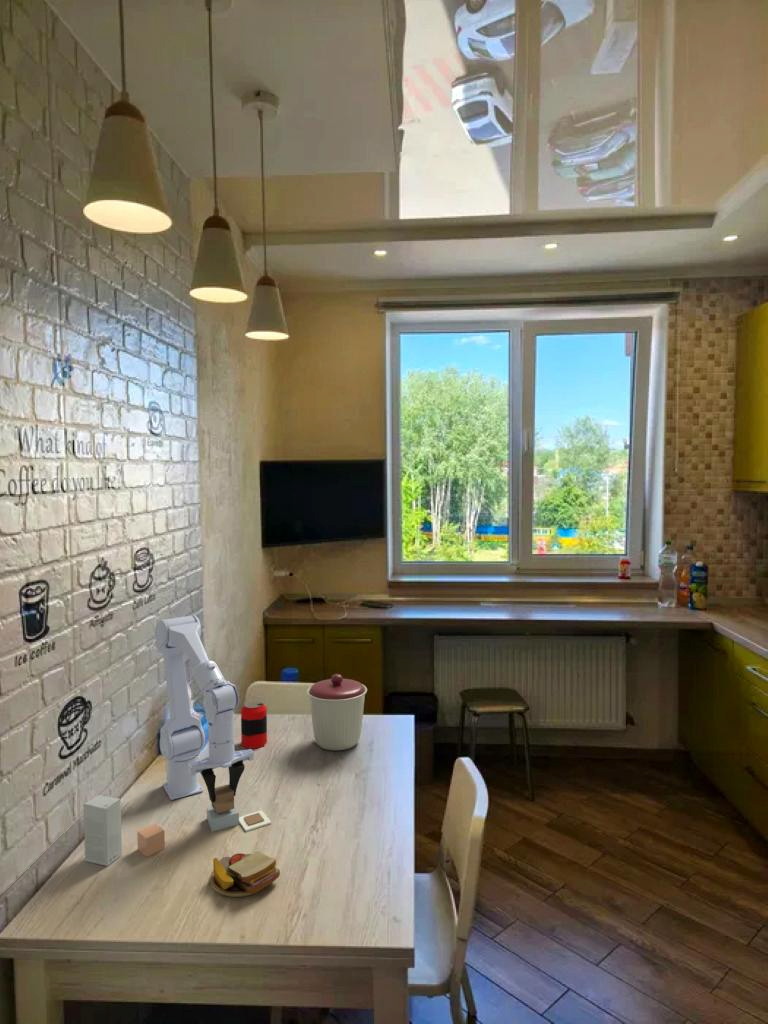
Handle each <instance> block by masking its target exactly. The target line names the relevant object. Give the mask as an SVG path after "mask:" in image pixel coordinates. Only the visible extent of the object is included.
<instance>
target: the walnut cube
mask: <svg viewBox="0 0 768 1024" xmlns="http://www.w3.org/2000/svg"><path fill="white" fill-rule="evenodd" d="M234 804H235V796H234V791H233V790H232V788H231V787H230V786H229V783H228V784H223V785H220V786H217V787H216V786H215V802H211V806H212V807H213V809H214V810H215V812H216V813H217V814H218V813H221V812H225V811H228V810H231V809H234Z"/></svg>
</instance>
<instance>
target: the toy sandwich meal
mask: <svg viewBox="0 0 768 1024" xmlns="http://www.w3.org/2000/svg"><path fill="white" fill-rule="evenodd" d="M276 865H277V860H276V858H275V857H271V856H268V855H266V854H265V853H263V852H261V851H255V852H253V853H234V854H233V855H231V857H230V856H225V857H222V858H221V859H218V858H217V857H214V858H213V870H212V871H211V874H210V877H209V882H210V885H211V887H212V888H213V890H215V891H216V892H218V893H219V894H220V895H223V896H226V897H229V898H230V897H231V898H238V897H239V898H240V897H247V896H251V895H253V894H255V893H256V894H257V893H258V892H260V891H261V890H263V889H264V888H266V887H267V886H268V887H269V885H271V884H272V883H273V882H275V881H276V880H277V879H278V878H279V877H280V876H281V870H280V868H276V867H277V866H276Z"/></svg>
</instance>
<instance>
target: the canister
mask: <svg viewBox="0 0 768 1024" xmlns="http://www.w3.org/2000/svg"><path fill="white" fill-rule="evenodd" d="M343 677H344V676H342V675H341V673H340V674H339V673H335V674H332V675H331V678H329V679H323V680H320V681H317V682H315V683H314V684H313V685H310V686H309V687H308V688H307V689H306V694H307V696H308V697H309V707H310V714H311V723H312V724H311V725H312V729H313V736H314V740H315V742H316V744H317V746H318V747H320V748H321V749H324V750H328V751H335V752H336V751H345V750H348V749H351V748H354V746H356V745H357V744H358V743H359V741H360V738H361V733H362V728H363V719H364V718H363V717H364V707H365V697H366V694H367V692H368V688H367V687H366V685H364V684H363V683H361V682H360V681H357V680H354V679H349V678H343Z"/></svg>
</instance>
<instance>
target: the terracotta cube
mask: <svg viewBox="0 0 768 1024" xmlns="http://www.w3.org/2000/svg"><path fill="white" fill-rule="evenodd" d="M136 835H137V850H138V851H139V852H141V854H142V855H143V856H144V857H146V858H147V857H150V856H152V855H154V854H156V853H158V852H160V851H162V850H164V849H166V848H165V843H166V840H165V838H166V837H165V829H163V828H162V827H161V826H160V825H158V823H156V822H155V823H154V824H151V825H147V826H146V827H144V828H141V829H139V830H138V831H137V834H136Z"/></svg>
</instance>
